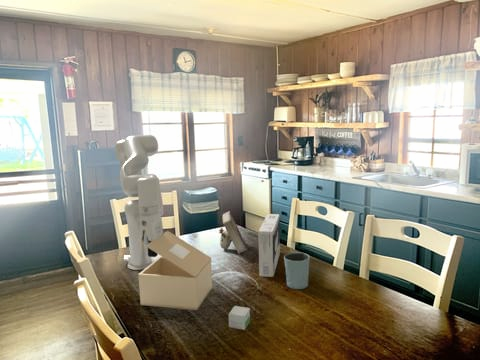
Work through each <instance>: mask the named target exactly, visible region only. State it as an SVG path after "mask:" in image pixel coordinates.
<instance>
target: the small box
mask: <svg viewBox="0 0 480 360" xmlns="http://www.w3.org/2000/svg"><path fill="white" fill-rule="evenodd" d="M250 312H251V308H250V307H245V306H240V305H239V306H238V305H234V306H233V307H232V309H231V311H229V313H228V327H229V328H232V329H238V330H243V331H244V330H246V328H247V327H248V325H249V323H250V321H251V313H250Z"/></svg>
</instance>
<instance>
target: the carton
mask: <svg viewBox="0 0 480 360" xmlns="http://www.w3.org/2000/svg"><path fill="white" fill-rule="evenodd" d="M154 260H155V259H154ZM212 270H213V269H212V259H211V260H210V261H209V262H208V263H207V264H206V266H205V267H204V268H203V269H202V270H201V272H200V273H199V274H198V275H197V276H196V277H194V276H192V275H190V274H189V273H187V272H186V271H184V270H183V269H181V268H179V267H178V266H176V265H175V264H173V263H172V262H170V261H168V260H167V259H165V258H164V257H162V256H159V257H158V258H157V259H156V260H155V261H154V262H153V263H152V264H150V265H149V266H148V267H147V268H146V269H142V270H141V272H139V273H138V274H137V275H138V286H139V300H140V306H147V307H148V306H149V307H159V308H167V309H177V310H178V309H179V310H188V311H198V310H199V308H200V307H201V305H202V304H203V303H204V301H205V300H206V298H207V296H208V295H209V294H210V292H211V291H212V289H213V272H212Z"/></svg>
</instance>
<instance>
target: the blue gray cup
mask: <svg viewBox="0 0 480 360" xmlns="http://www.w3.org/2000/svg"><path fill="white" fill-rule="evenodd" d="M310 258H311V256H310V255H309V254H307V253H304V252H299V251H293V252H288V253H286V254H284V255H283V261H284V267H285V276H286V277H285V278H286V280H285V281H286V286H287V287H289V288H291V289H295V290H303V289H306V288H308V285H309V274H310V273H309V272H310V269H309V268H310V261H311V259H310Z"/></svg>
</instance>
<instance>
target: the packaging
mask: <svg viewBox="0 0 480 360" xmlns="http://www.w3.org/2000/svg"><path fill="white" fill-rule="evenodd" d="M280 229H281V227H280V214H279V213H267V214H266V217H265V218H264V220H263V222H262V224H261V226H260V228H259V229H258V232H257V235H258V237H257V238H258V269H259V270H258V275H259V277H265V278H266V277H268V278H274V275H275V272H276V269H277V265H278V262H279V257H280V254H281V244H280V243H281V241H280V240H281V237H280V233H281V232H280V231H281V230H280Z"/></svg>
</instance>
